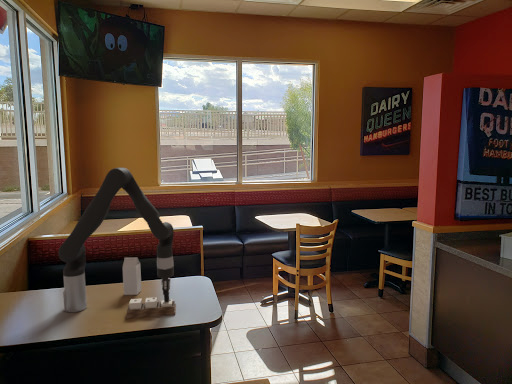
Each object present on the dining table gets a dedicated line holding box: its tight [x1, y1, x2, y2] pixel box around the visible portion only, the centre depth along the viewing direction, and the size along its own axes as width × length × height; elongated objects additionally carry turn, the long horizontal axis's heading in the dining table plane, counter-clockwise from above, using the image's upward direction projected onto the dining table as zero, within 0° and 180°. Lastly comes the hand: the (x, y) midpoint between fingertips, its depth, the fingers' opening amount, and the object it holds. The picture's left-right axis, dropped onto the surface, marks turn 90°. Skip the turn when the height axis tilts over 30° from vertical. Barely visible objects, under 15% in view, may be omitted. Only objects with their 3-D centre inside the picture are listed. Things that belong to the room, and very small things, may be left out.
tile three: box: [160, 299, 173, 307], centre depth 187 cm, size 5×5×3 cm
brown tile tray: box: [125, 300, 177, 320], centre depth 186 cm, size 22×10×3 cm, turn 100°
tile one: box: [128, 297, 143, 310], centre depth 185 cm, size 5×5×3 cm
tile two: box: [144, 296, 158, 308], centre depth 186 cm, size 5×5×3 cm
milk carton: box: [121, 257, 142, 296], centre depth 210 cm, size 7×7×19 cm
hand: (166, 301), depth 187 cm, fingers closed
